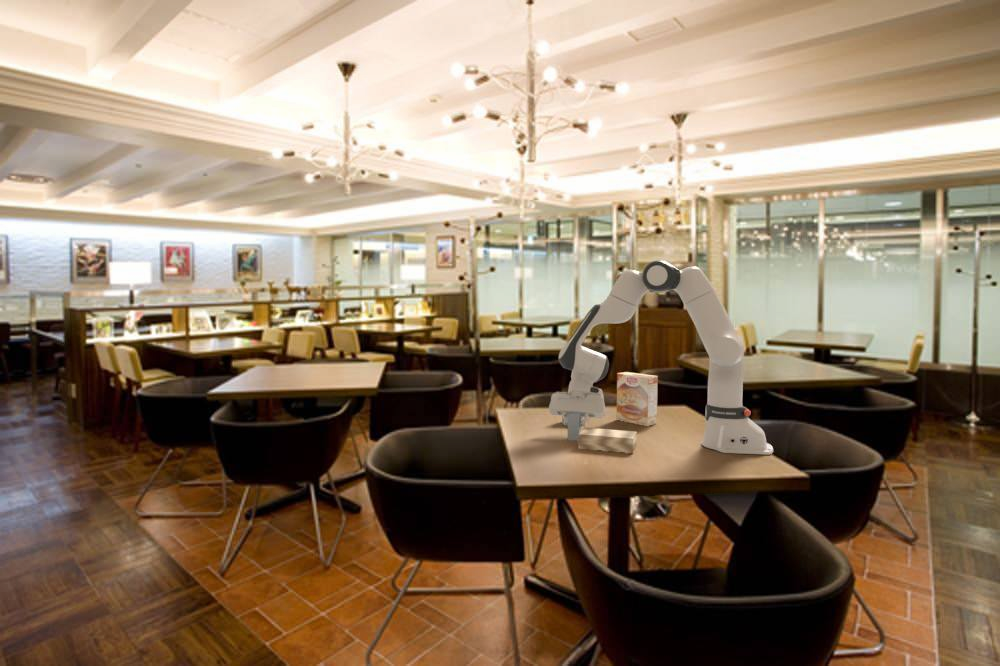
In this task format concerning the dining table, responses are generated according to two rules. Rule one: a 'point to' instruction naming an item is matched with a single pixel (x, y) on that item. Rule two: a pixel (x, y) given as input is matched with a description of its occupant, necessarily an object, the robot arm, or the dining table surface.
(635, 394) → the coffeecake box
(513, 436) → the dining table surface
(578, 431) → the pillar
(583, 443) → the block
